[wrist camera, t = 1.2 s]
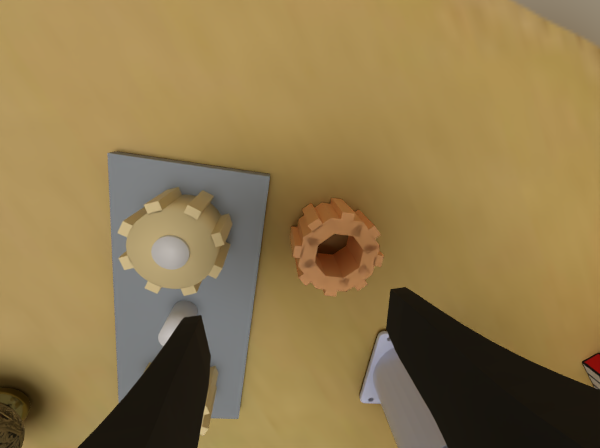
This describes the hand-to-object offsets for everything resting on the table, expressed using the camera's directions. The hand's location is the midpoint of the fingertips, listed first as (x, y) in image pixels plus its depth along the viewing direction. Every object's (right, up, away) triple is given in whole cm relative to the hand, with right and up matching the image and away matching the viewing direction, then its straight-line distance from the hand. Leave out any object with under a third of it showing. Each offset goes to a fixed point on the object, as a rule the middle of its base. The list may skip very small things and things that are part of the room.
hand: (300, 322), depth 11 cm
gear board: (-9, -2, +12) cm, 15 cm away
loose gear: (+2, +3, +11) cm, 12 cm away
